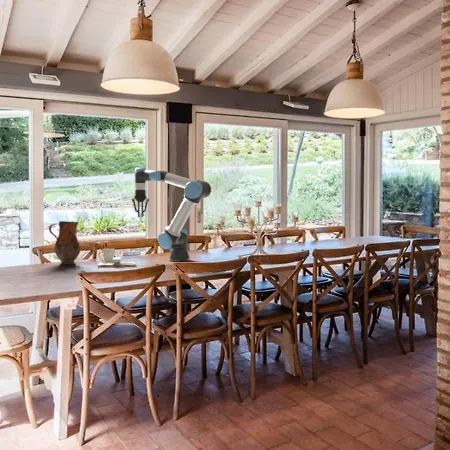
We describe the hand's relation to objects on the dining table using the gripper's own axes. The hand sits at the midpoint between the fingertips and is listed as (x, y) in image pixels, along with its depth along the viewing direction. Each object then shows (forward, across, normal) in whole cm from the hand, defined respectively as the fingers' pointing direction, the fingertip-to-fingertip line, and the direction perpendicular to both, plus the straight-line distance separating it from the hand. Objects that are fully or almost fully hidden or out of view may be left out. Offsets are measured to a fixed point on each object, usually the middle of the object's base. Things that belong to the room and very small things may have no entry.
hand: (140, 221), depth 368 cm
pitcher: (+29, +51, +17) cm, 61 cm away
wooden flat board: (+28, +15, +30) cm, 44 cm away
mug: (+29, +24, +11) cm, 39 cm away
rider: (+27, +15, +30) cm, 43 cm away
